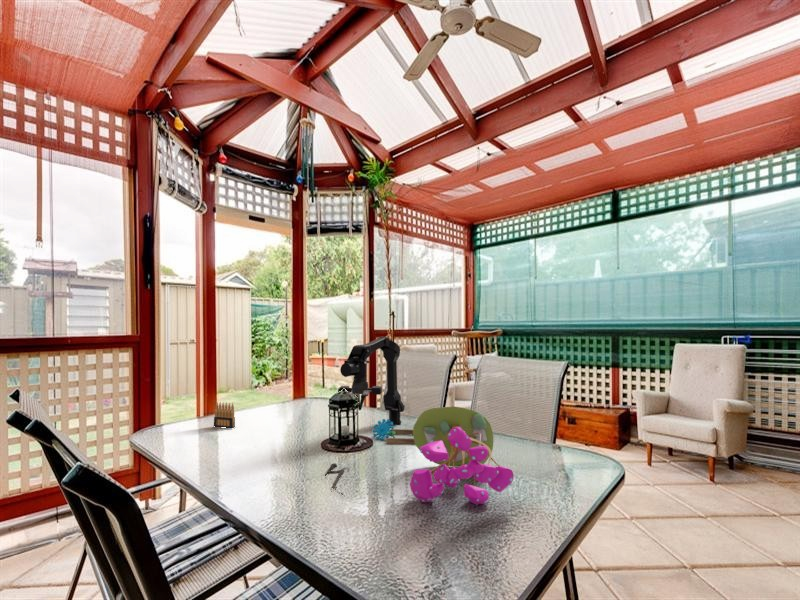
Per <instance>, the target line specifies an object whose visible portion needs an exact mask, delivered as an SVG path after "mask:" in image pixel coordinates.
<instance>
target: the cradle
mask: <svg viewBox="0 0 800 600" xmlns="http://www.w3.org/2000/svg"><path fill="white" fill-rule="evenodd" d="M389 430H390V431H394V432H395V435H399V434H413V429H406V428H405V429H403V428H402V429H401V428H400V429H397V428H396V429H395V428H394V429H393V430H392V429H391V428H390V429H389ZM386 444H390V445H392V444H394V445H415V442H414V437H413V438H407V437H406V438H405V437H401V438H400V437H399V438H398V437H395V438H393V437H389V438H386Z"/></svg>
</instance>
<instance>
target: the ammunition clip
mask: <svg viewBox="0 0 800 600" xmlns="http://www.w3.org/2000/svg"><path fill="white" fill-rule="evenodd" d="M214 426H215V427H226V428H234V427H235V428H236V417H235V405H234V403H233V402H232V403H230V402H229V403H228V402H226V403H225V402H222V403H221V401H220V402H218V401H217V402H216V404H215V410H214V416H213V427H214ZM235 428H234V429H235Z"/></svg>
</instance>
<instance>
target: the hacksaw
mask: <svg viewBox="0 0 800 600" xmlns="http://www.w3.org/2000/svg"><path fill="white" fill-rule="evenodd" d="M335 467H336V468H337V467H338V465H337V463H331V464H330V467H329V468H328V470H326V473H324V474H325V476H326V475H327V474H328V475H329V474H337V472H339V473H338V474H337V476H336V478H335V480H334V482H333V484H332V485H333V486H331V488H333V491H335V490H336V489H337V488H338V487H337V484H338V483H339V481H340V479H341V478H342V476H343V475H344V473H345V470H346V469H348V470H347V472H349V471H350V467H343V468H342V469H338V470H334V469H335ZM331 470H332V471H331ZM341 475H342V476H341ZM340 477H341V478H340ZM339 478H340V479H339ZM336 491H337V490H336ZM338 492H339V491H338ZM340 493H341V494H340ZM338 494H340V495H341V496H342V495H343V496H344V493H342V492H339V493H338Z"/></svg>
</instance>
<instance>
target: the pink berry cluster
mask: <svg viewBox="0 0 800 600" xmlns="http://www.w3.org/2000/svg"><path fill="white" fill-rule="evenodd" d="M412 430H413V435H412V436H413V438H414V442H415V444H414V445H415V446H416V447H417V449H418V450H419V452H420V454H422V455H423V456H424V458H425V459H426V460H428V461H429V462H432V463H434V464H437V466H436V467H434V468H433V469H431V470H430V469H429V468H428V469H425V468H424V469H420V468H417V469H415V470H414V471H413V472H412V475H411V478H410V482H409V487H410V489H411V493H412V494H413V496H414V497H415V498H416V499H417V500H419V501H420V502H422V503H430V502H434V499H436V500H438V499H439V498H440V497H441V496H442V494H443V493H444V490H445V487H446V486H447V487H449V488H455V489H457V487H458V485H459V484H460V482H461V480H469V479H470V478H472V476H473V483H474V485H471V484H467V483H464V486H463V487H464V489H463V495H464V497H465V498H466V500H467V501H470V503H472V504H474V505H476V506H478V505H484V504H486V503H487V501H489V498H490V495H491V493H490V492H489V491H488V490H487V489H485V488H482V487H478V486H476V481H477V482H479V483H480V484H482V485H484V484H487V485H488V486H489V488H490V489H492V490H494V491H496V492H497V493H501V492H503V491H504V490H505V489H507V488H508V487H509V486H510V487H511V486H512V483H513V482H514V472H513V470H512V469H510V468H509V467H505V466H500V465H499V464H498V462H496V461H495V460H494V458H493V457H492V453H493V451H494V450H493V449H494V432H493V430H492V426H491V423H490V422H489V421H488V419H487V418H486V417H485V416H484V415H483V414H481V413H479V412H477V411H475V410H472V409H470V408H465V407H459V406H443V407H431V408H428V409H426V410H424V411H423V412H422V413H421V414H420V415H419V416H418V418H417V419H416V421H415V423H414V425H413V428H412ZM487 460H488V464H485V463H486V462H487ZM491 460H492V462H493V463H494V464H496V466H493V465H491V464H490V463H491ZM450 467H451V468H450ZM432 475H433V476H432ZM433 479H434V480H435V481H436V483H434V482H433Z"/></svg>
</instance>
